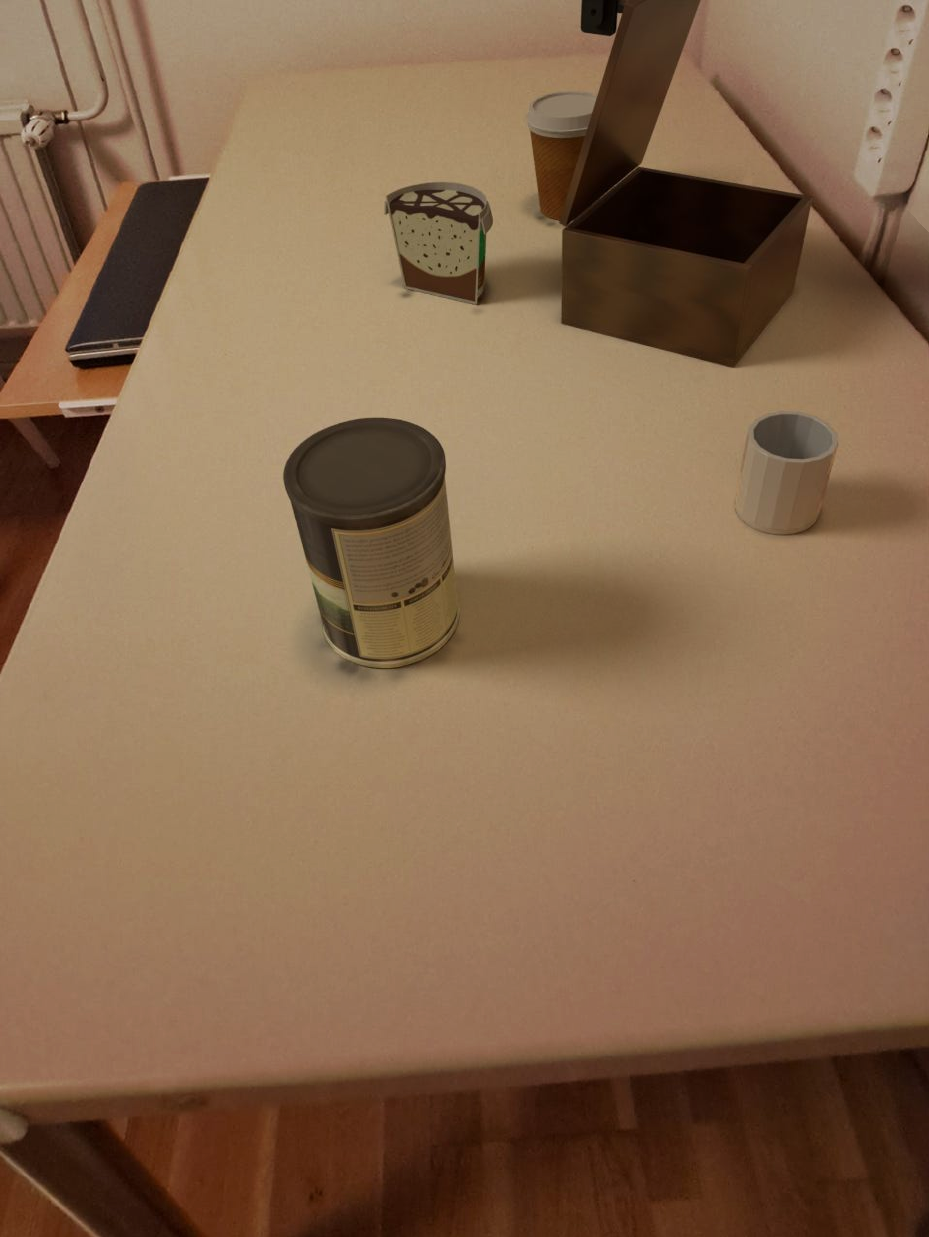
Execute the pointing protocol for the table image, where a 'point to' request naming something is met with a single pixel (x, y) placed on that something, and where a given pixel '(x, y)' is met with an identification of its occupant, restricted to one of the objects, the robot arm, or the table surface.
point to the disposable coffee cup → (557, 143)
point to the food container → (441, 238)
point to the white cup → (785, 471)
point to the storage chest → (683, 262)
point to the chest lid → (629, 97)
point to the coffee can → (376, 538)
